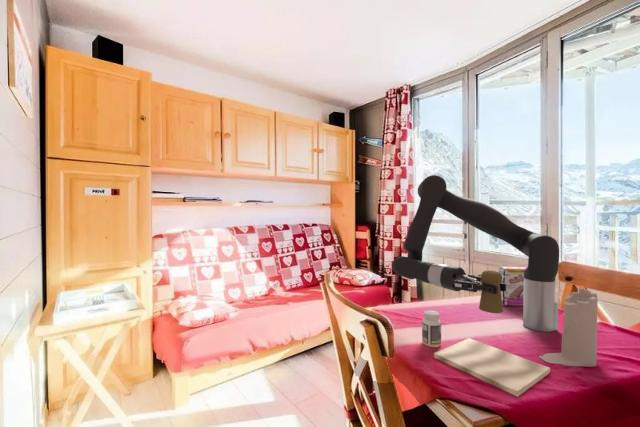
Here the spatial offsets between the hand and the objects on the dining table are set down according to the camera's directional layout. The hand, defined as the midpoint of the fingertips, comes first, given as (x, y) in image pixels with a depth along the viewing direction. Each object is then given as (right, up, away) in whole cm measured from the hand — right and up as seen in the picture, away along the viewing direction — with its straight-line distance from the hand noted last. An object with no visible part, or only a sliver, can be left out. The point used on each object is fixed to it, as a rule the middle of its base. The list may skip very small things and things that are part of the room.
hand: (501, 288), depth 85 cm
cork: (-1, -7, +3) cm, 7 cm away
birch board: (-4, -21, -1) cm, 21 cm away
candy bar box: (+35, -19, +50) cm, 64 cm away
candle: (+19, -21, +2) cm, 28 cm away
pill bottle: (-15, -21, +12) cm, 28 cm away
